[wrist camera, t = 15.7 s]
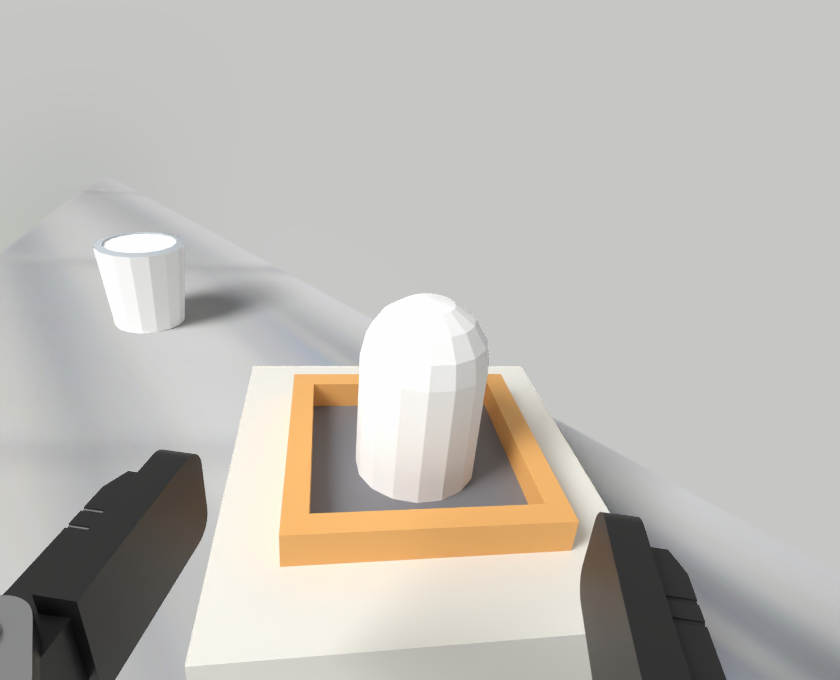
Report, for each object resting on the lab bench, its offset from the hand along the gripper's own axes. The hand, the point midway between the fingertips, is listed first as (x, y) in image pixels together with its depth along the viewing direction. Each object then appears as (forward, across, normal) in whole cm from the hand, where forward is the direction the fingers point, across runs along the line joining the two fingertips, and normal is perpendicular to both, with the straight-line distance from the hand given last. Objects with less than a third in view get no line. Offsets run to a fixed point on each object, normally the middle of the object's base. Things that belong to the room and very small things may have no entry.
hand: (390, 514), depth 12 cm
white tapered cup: (+34, +26, +14) cm, 45 cm away
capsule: (+12, 0, +8) cm, 15 cm away
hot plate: (+14, +1, +14) cm, 20 cm away
